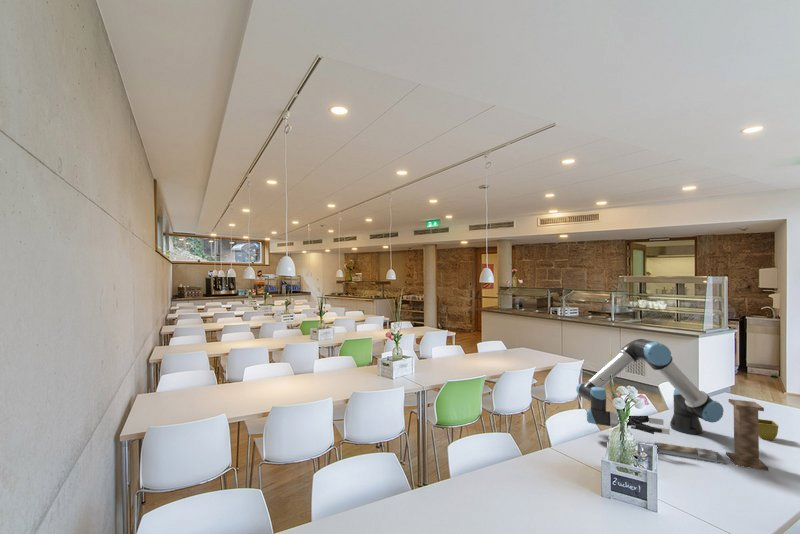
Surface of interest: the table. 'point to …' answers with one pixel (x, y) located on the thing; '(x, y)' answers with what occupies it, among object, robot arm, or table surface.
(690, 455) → the mat
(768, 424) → the flower pot
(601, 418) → the robot arm
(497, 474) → the table surface
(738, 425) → the pedestal
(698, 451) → the bar
